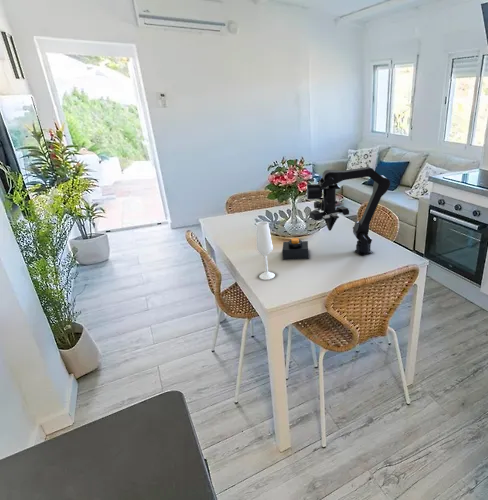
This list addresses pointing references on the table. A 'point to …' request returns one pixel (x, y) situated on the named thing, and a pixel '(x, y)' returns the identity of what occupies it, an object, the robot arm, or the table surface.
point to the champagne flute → (264, 246)
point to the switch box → (295, 250)
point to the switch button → (295, 240)
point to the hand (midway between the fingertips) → (329, 230)
